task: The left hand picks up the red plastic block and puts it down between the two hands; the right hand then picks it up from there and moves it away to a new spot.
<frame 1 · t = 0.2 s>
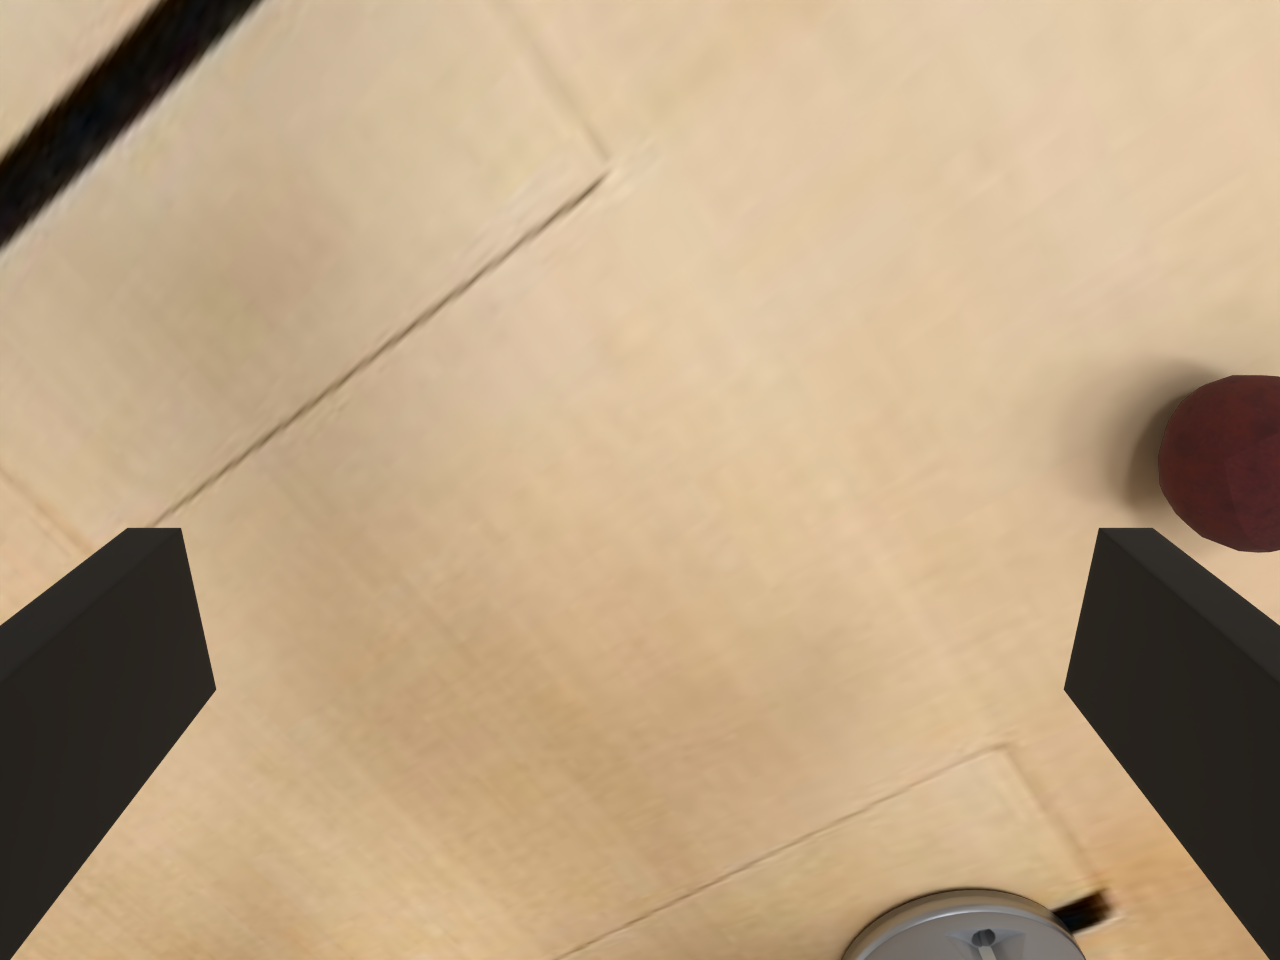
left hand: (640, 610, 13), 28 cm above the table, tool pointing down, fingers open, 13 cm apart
dark maroon ball: (1202, 433, 41), on the table
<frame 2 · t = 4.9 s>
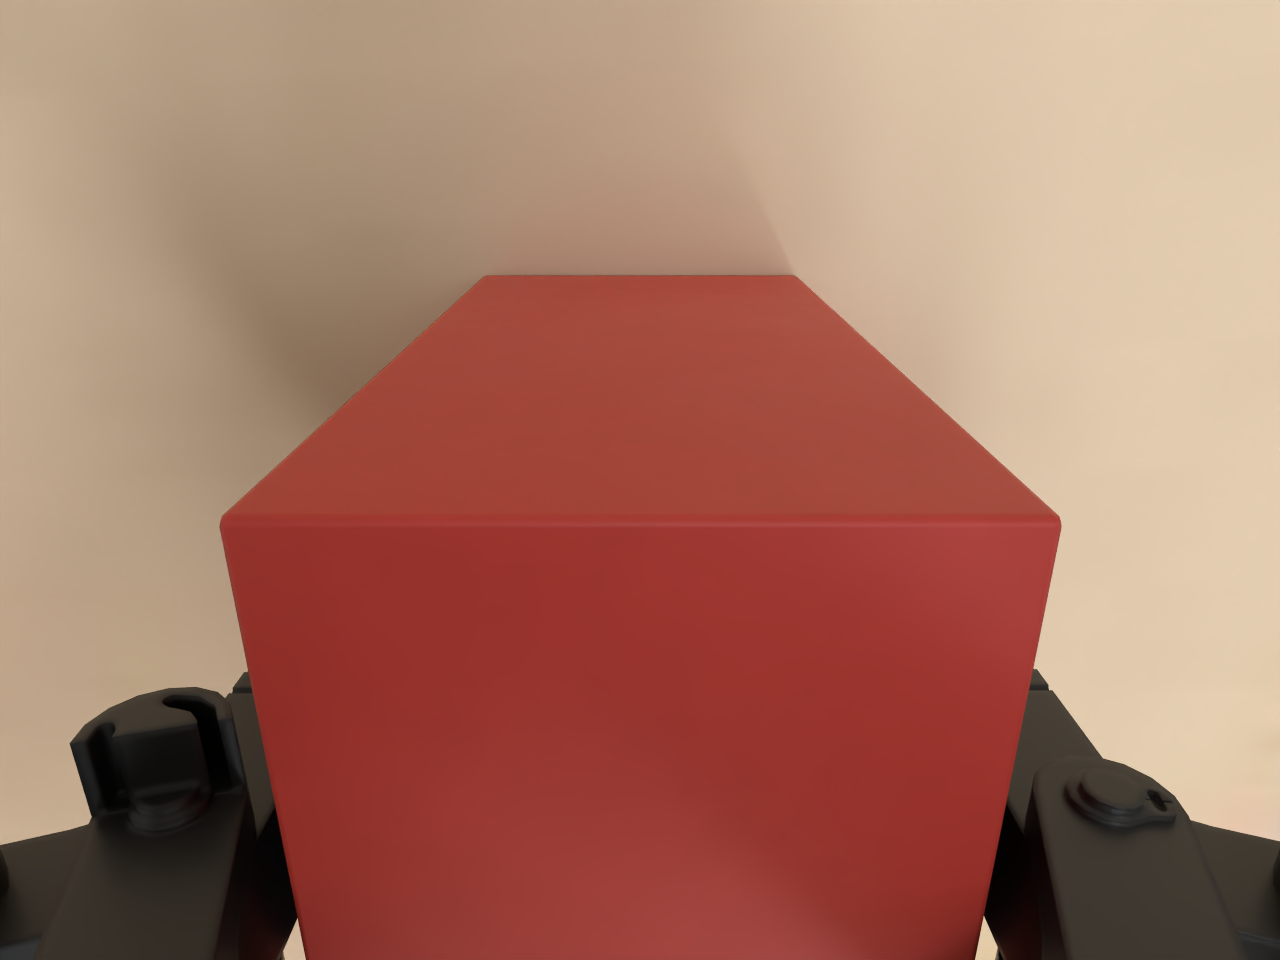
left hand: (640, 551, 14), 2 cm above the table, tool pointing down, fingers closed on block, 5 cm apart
block: (640, 501, 16), on the table, touching left hand
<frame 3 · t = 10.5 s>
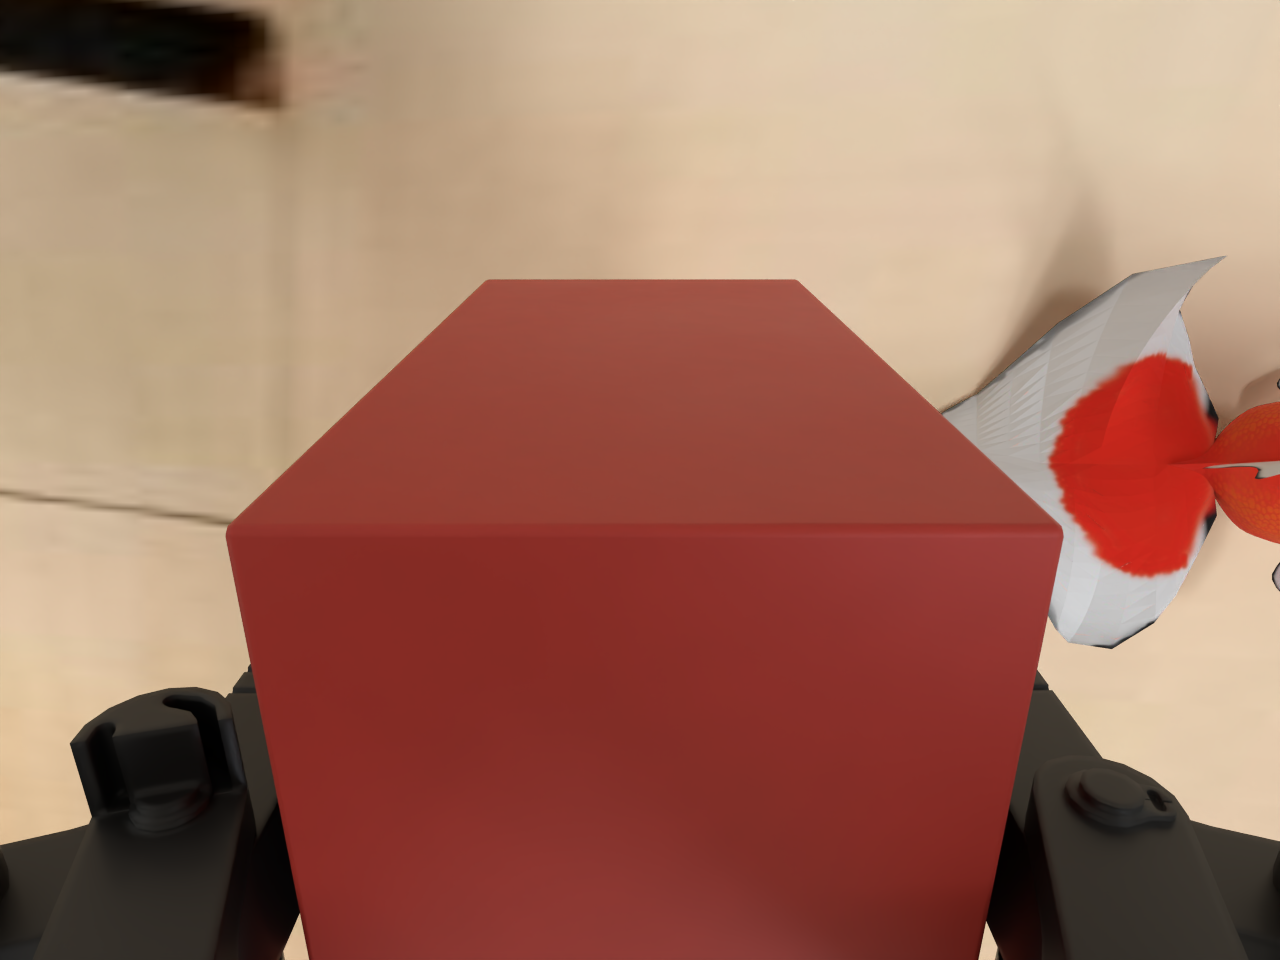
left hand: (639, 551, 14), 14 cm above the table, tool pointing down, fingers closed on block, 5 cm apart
fish: (1110, 433, 28), on the table
block: (641, 505, 16), point 12 cm above the table, touching left hand
when the left hand's fingers open (4 cm above the table, at t = 16.1 s): block drops 2 cm, on the table.
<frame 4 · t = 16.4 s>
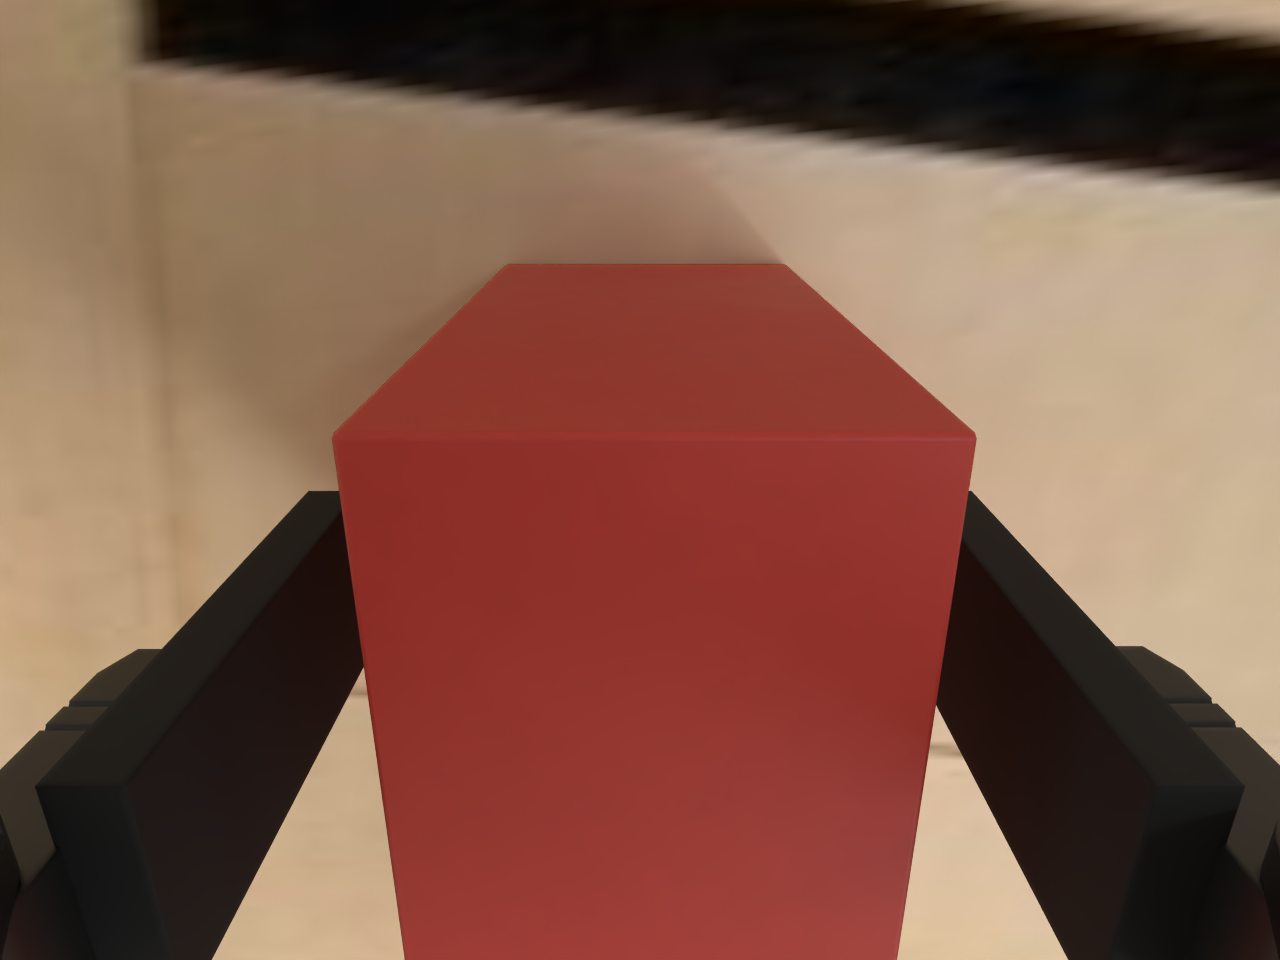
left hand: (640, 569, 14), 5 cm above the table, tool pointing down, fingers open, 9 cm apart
block: (645, 470, 18), on the table
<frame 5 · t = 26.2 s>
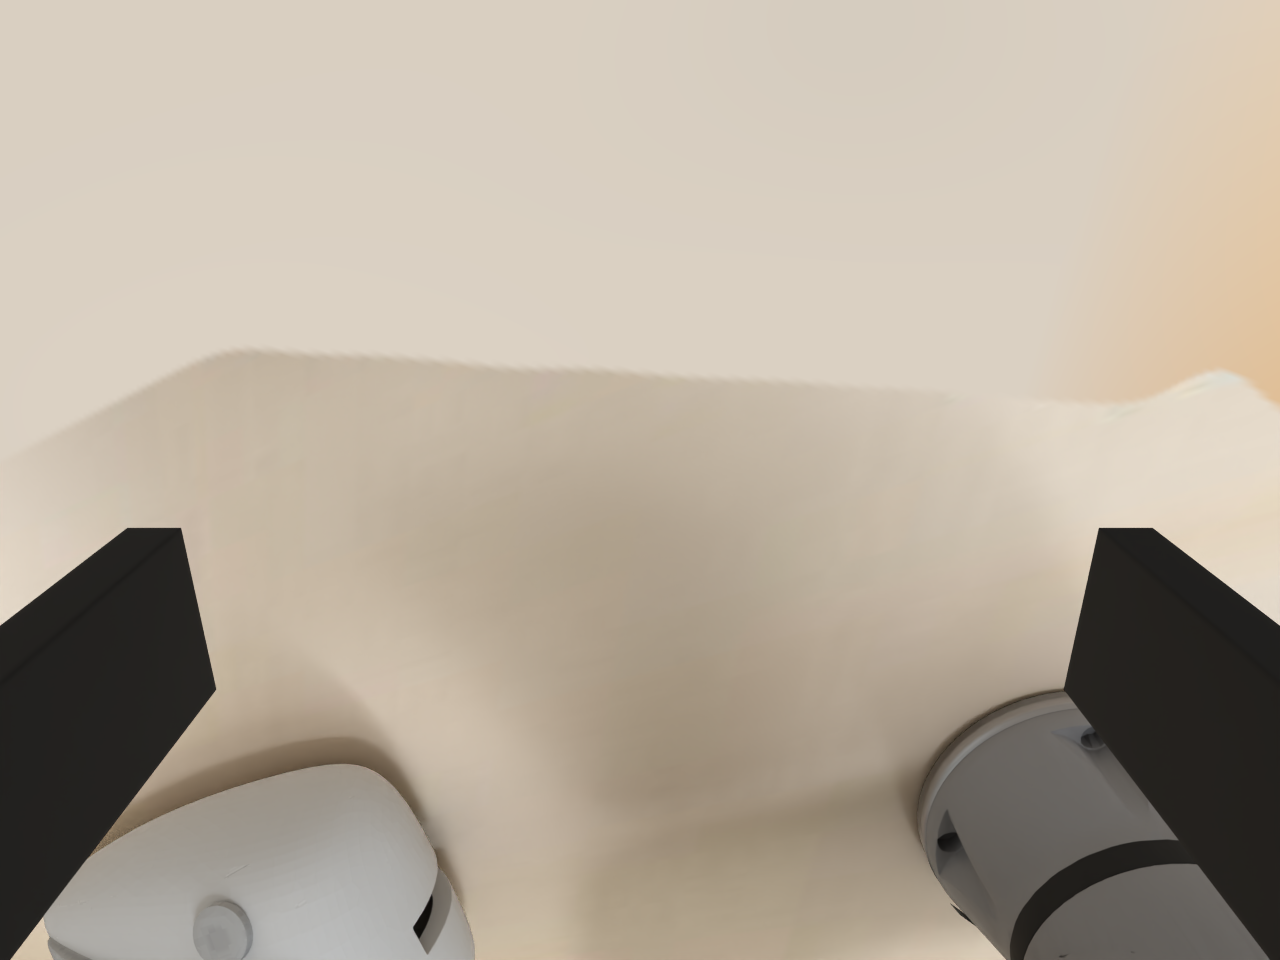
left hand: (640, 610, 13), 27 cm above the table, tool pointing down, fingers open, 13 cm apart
projector: (276, 873, 50), on the table
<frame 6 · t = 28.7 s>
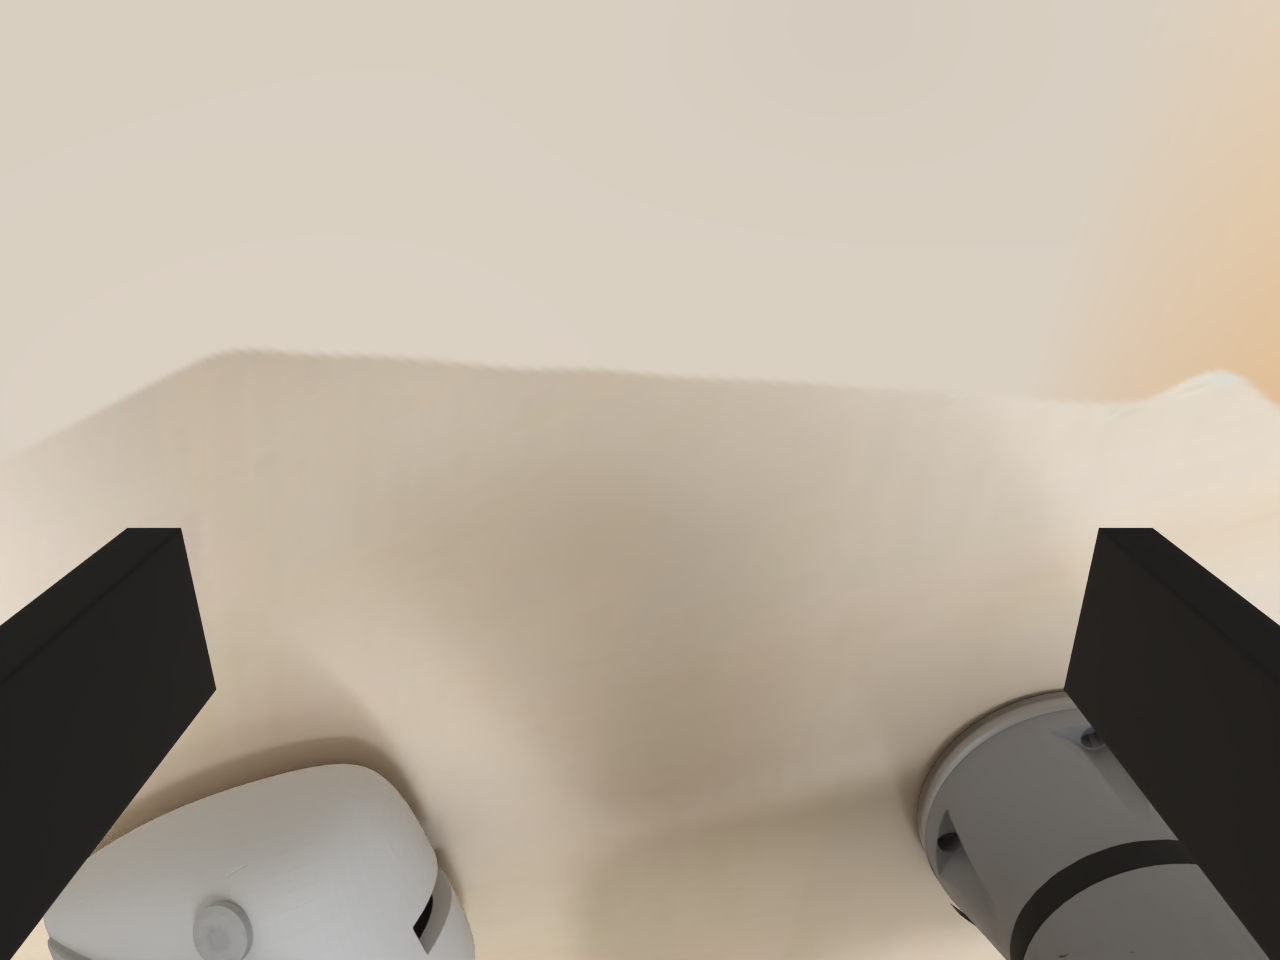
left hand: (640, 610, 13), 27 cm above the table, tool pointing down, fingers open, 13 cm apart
projector: (276, 873, 50), on the table
when the right hand's fingers open (4 cm above the table, at t = 31.4 s): block drops 2 cm, on the table.
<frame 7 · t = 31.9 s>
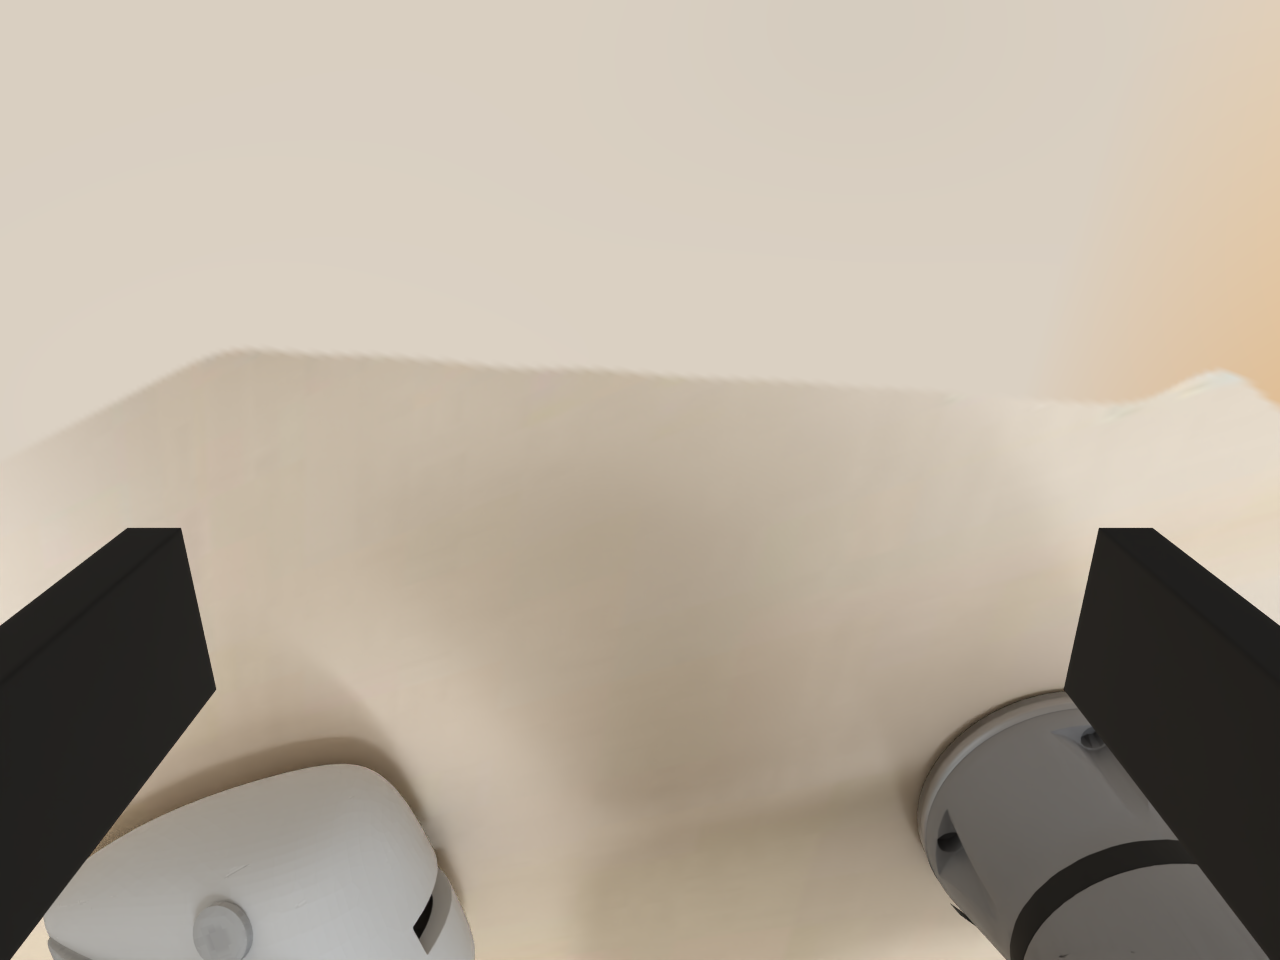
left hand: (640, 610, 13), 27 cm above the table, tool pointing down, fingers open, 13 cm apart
projector: (276, 873, 50), on the table
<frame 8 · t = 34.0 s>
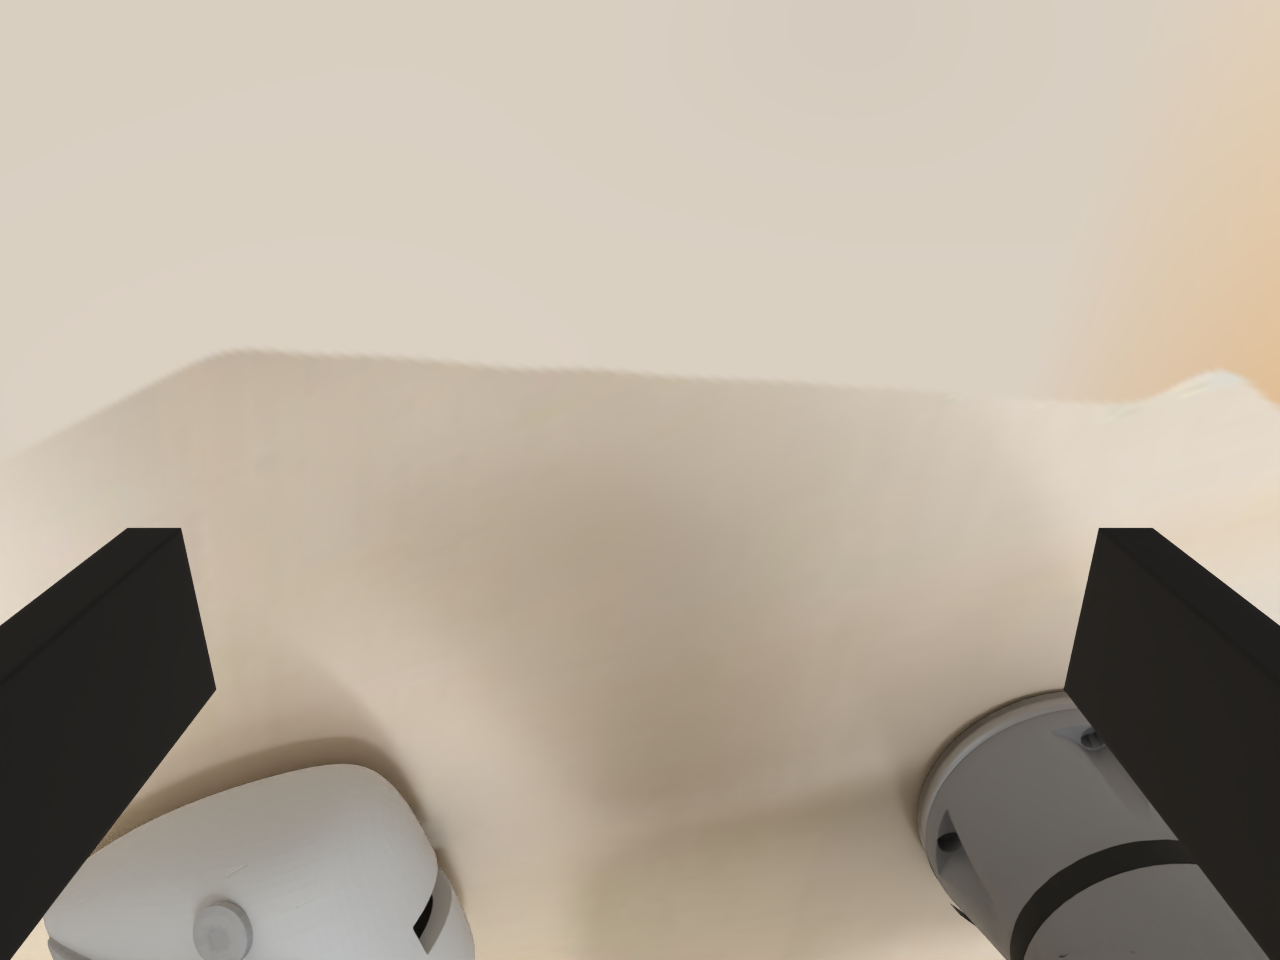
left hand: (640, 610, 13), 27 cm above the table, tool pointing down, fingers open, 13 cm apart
projector: (276, 873, 50), on the table
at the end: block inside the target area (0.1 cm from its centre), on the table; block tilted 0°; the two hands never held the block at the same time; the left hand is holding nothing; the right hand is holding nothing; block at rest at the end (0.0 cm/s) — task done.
